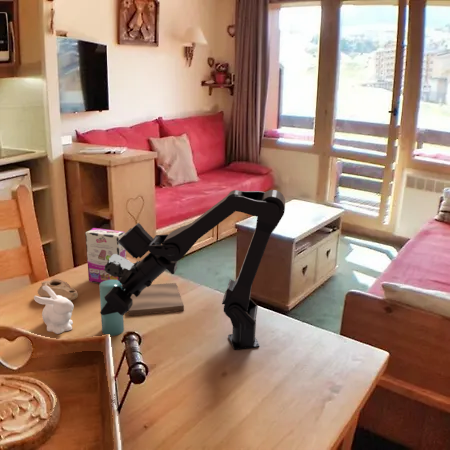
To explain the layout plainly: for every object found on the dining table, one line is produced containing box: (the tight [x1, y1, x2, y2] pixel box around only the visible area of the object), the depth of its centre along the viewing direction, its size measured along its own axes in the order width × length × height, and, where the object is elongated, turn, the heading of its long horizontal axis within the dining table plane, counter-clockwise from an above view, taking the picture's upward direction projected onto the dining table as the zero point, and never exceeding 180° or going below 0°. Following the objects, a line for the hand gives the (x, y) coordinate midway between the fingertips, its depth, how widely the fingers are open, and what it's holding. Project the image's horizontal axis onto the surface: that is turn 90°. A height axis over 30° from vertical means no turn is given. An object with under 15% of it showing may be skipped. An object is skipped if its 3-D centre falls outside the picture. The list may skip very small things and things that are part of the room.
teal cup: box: [98, 280, 125, 337], centre depth 130 cm, size 6×6×13 cm
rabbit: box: [33, 285, 75, 335], centre depth 132 cm, size 12×9×12 cm
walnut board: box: [128, 282, 185, 316], centre depth 148 cm, size 15×15×2 cm
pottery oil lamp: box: [37, 278, 79, 301], centre depth 147 cm, size 9×12×7 cm
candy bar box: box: [85, 227, 127, 284], centre depth 157 cm, size 11×5×16 cm, turn 73°
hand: (106, 306), depth 130 cm, fingers open, 7 cm apart
